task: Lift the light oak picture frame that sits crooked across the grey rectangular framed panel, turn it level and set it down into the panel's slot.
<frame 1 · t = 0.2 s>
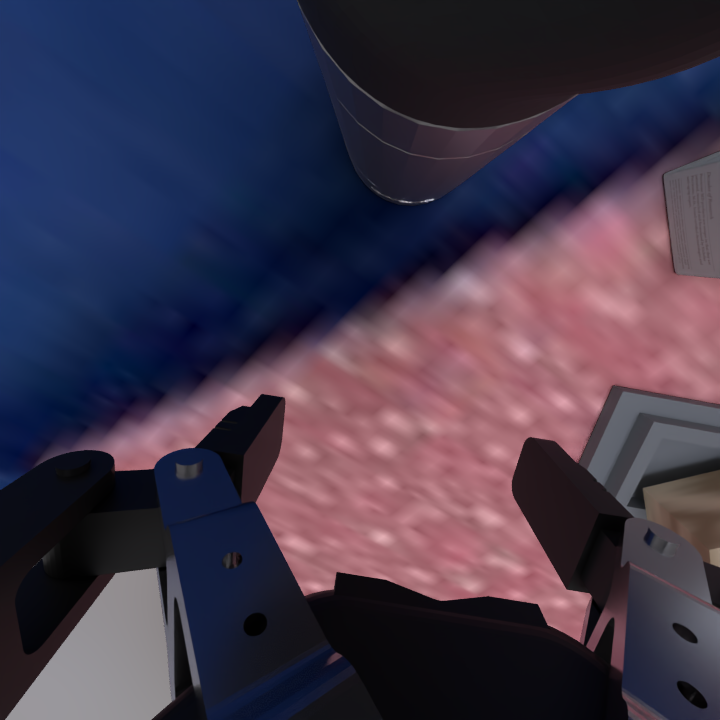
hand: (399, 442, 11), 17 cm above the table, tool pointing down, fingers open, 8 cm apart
grey rectangular framed panel: (708, 469, 30), on the table
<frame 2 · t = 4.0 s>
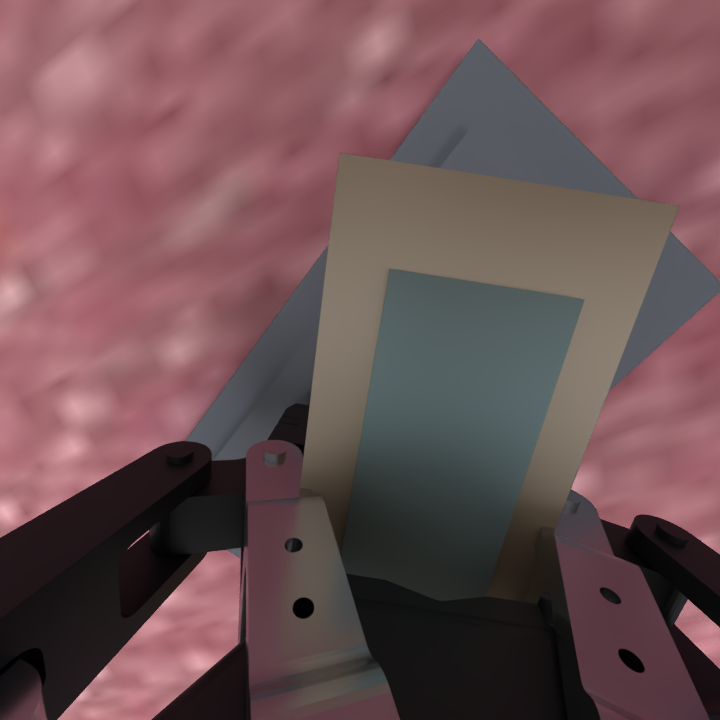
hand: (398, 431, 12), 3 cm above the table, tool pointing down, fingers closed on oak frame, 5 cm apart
oak frame: (398, 422, 13), point 3 cm above the table, touching grey rectangular framed panel, gripper
grey rectangular framed panel: (394, 395, 15), on the table
when the fingers open (4 cm above the table, at t = 9.8 s): oak frame drops 2 cm, resting on grey rectangular framed panel.
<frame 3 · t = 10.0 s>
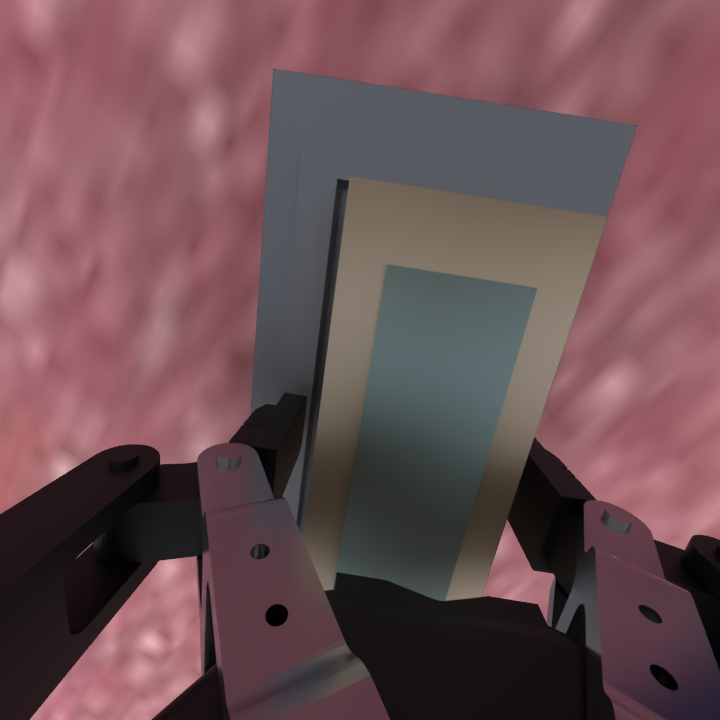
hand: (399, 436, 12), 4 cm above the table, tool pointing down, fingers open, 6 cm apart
oak frame: (396, 403, 14), point 1 cm above the table, touching grey rectangular framed panel
grey rectangular framed panel: (393, 393, 16), on the table
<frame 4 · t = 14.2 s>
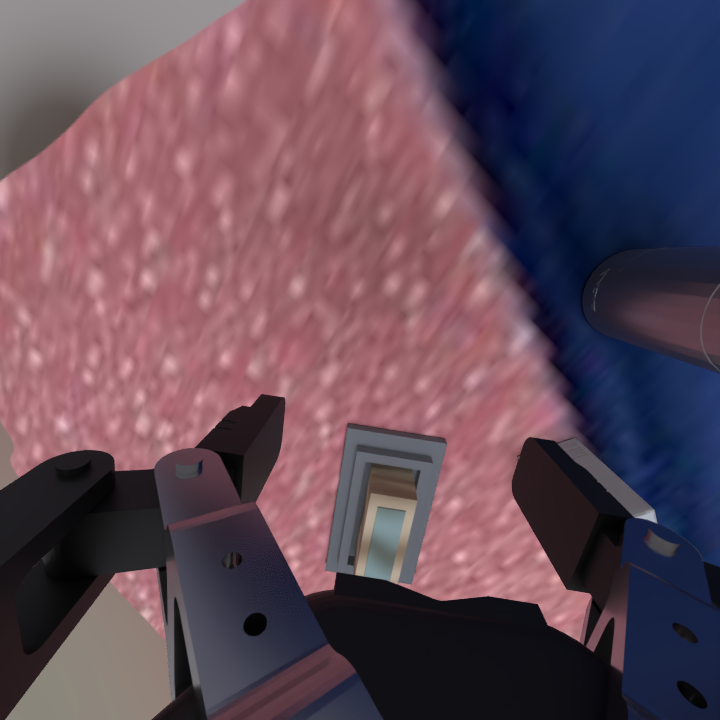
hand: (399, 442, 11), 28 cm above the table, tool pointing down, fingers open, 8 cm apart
supplement box: (552, 469, 43), on the table
oak frame: (382, 511, 44), point 1 cm above the table, touching grey rectangular framed panel
grey rectangular framed panel: (381, 505, 45), on the table
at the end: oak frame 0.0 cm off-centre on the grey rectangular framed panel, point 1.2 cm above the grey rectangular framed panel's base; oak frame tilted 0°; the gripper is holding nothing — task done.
